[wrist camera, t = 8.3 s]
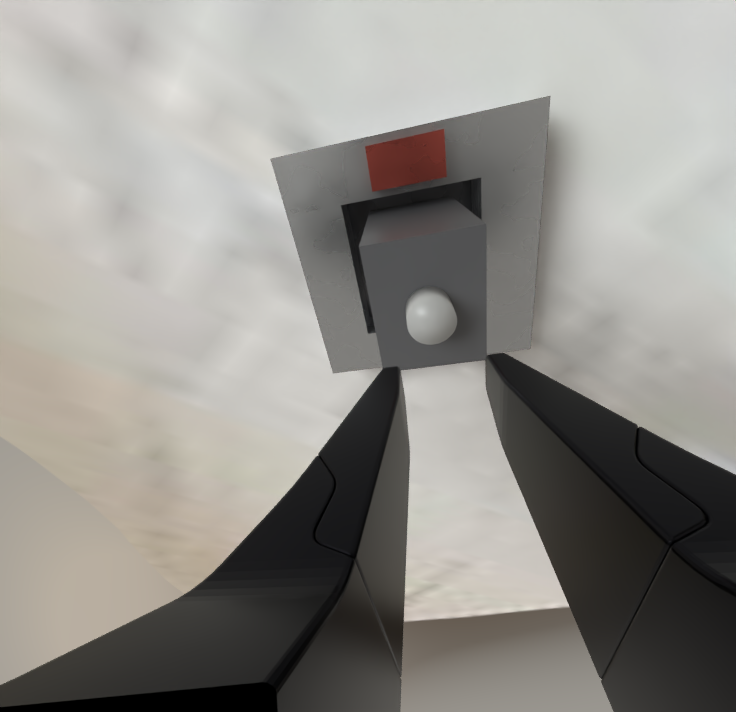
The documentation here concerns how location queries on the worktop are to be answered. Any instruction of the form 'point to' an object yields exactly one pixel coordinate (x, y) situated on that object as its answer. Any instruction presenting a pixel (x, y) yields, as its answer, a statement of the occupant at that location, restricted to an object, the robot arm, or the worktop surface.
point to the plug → (427, 283)
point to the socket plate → (410, 185)
